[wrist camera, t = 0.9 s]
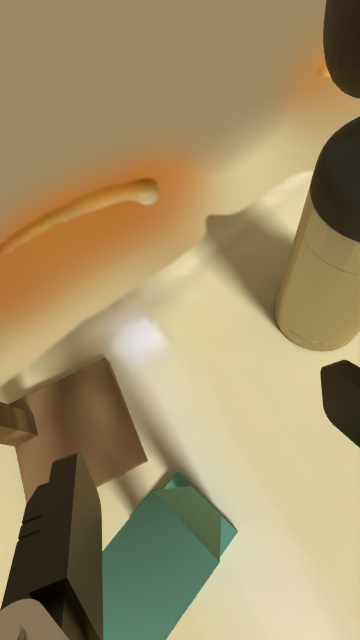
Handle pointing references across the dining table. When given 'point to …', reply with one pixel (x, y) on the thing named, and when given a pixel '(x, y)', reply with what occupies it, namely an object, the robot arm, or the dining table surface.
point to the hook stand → (73, 427)
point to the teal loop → (160, 562)
